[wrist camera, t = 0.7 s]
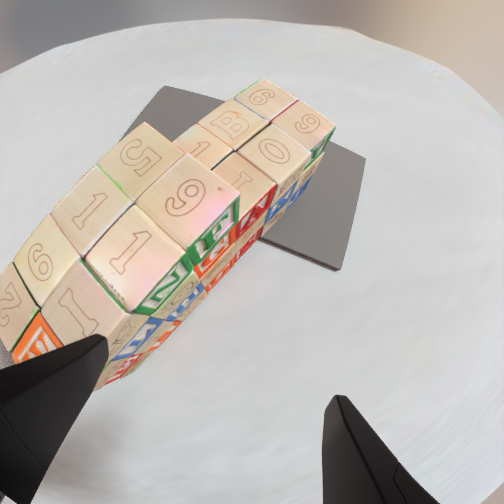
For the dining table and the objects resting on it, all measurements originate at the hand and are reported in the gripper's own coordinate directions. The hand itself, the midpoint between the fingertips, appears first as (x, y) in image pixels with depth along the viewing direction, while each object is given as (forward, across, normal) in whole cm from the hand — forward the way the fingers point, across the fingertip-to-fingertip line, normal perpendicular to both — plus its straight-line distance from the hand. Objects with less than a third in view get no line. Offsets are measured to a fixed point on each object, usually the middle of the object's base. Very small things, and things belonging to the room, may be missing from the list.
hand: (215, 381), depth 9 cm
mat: (+20, +3, -6) cm, 22 cm away
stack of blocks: (+14, +5, +2) cm, 15 cm away
